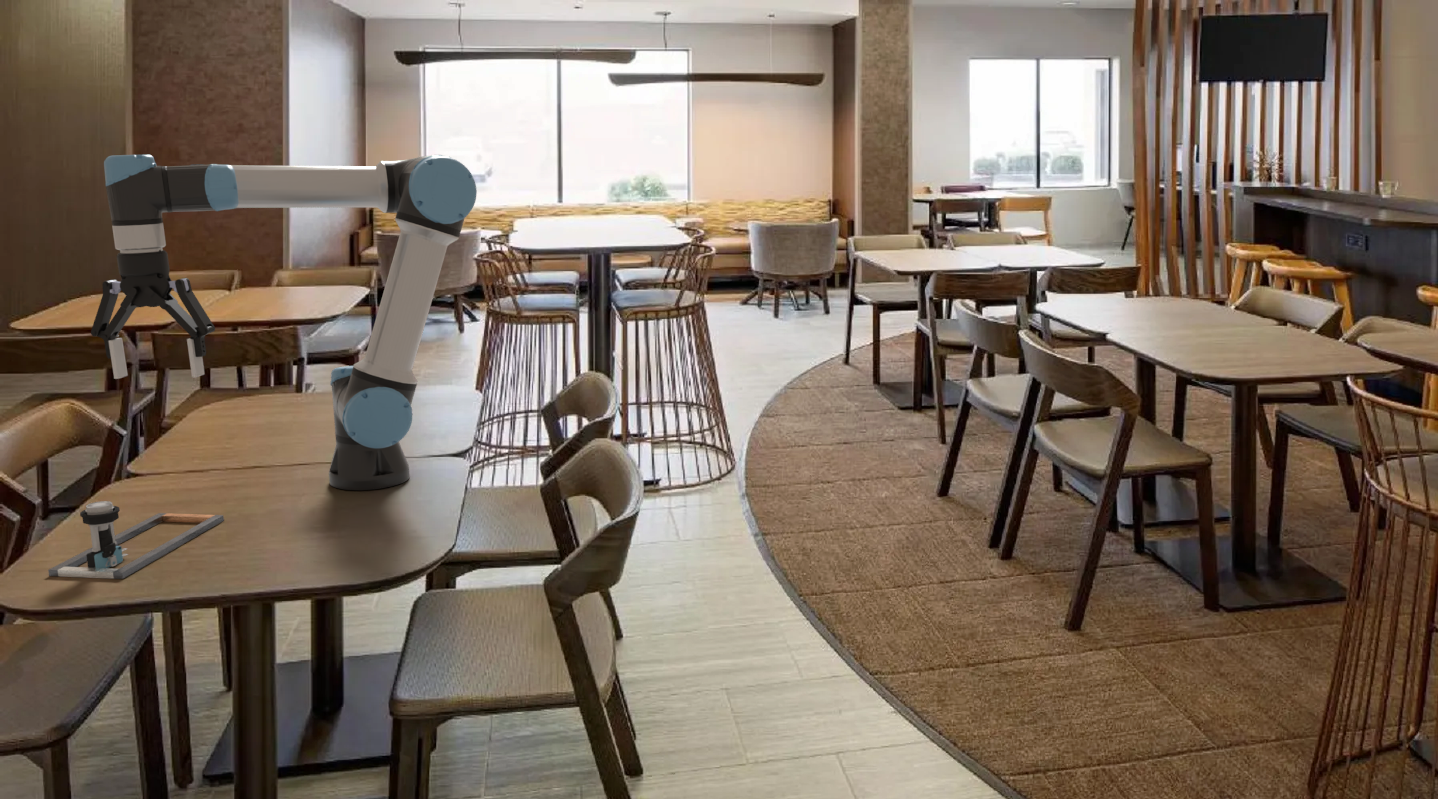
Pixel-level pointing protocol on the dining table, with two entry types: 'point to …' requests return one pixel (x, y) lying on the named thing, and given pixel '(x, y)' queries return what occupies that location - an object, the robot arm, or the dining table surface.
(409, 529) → the dining table surface
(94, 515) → the push button
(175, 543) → the open rectangular frame
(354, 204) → the robot arm
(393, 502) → the dining table surface
